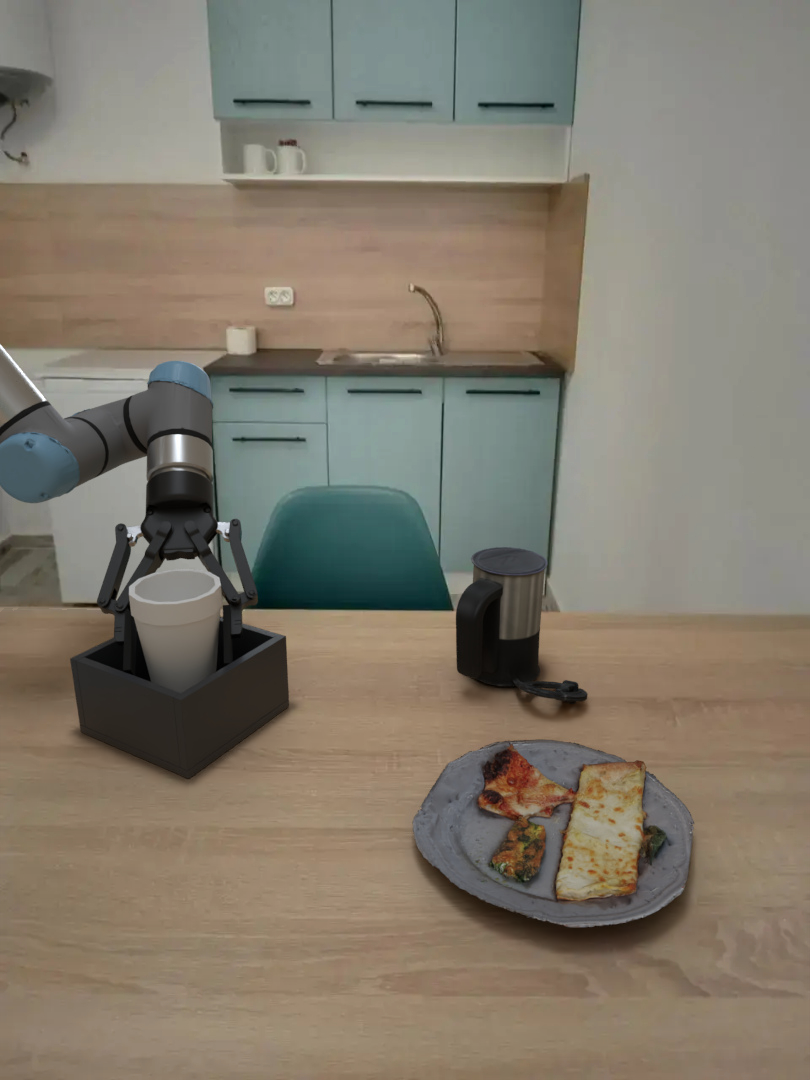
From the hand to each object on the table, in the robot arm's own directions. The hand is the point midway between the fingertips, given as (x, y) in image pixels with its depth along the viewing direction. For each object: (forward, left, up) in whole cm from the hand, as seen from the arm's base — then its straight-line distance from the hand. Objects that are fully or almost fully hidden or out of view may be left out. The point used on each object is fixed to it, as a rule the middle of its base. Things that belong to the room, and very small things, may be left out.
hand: (179, 670), depth 87 cm
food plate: (+40, +5, -8) cm, 41 cm away
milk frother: (+27, +29, -8) cm, 41 cm away
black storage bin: (-2, +2, -8) cm, 8 cm away
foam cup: (-2, +2, -5) cm, 6 cm away
